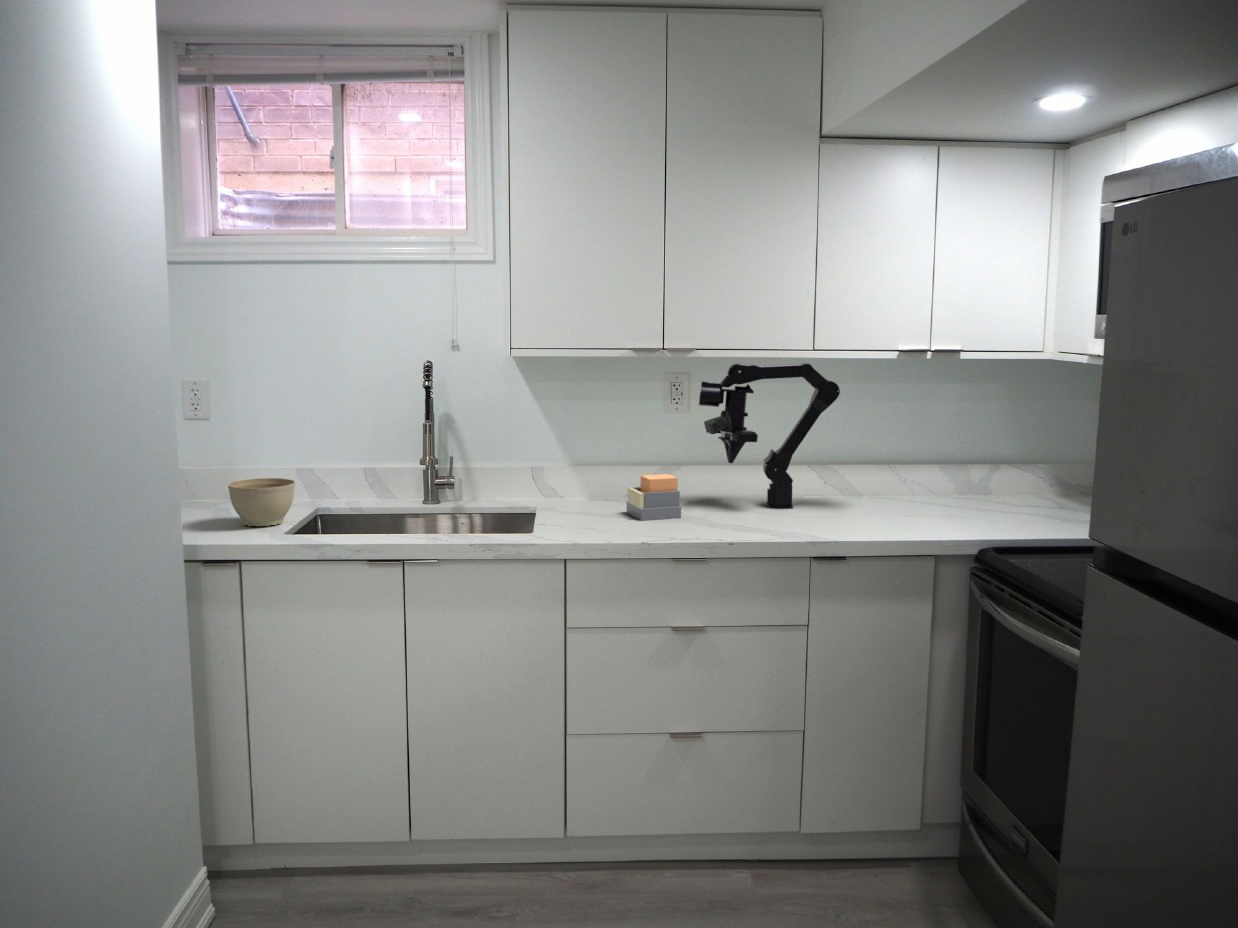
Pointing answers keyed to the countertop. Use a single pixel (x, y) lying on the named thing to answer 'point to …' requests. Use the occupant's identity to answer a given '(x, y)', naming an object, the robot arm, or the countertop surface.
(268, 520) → the planter bowl
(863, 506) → the countertop surface
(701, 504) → the countertop surface
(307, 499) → the countertop surface
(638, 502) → the open gray box
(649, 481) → the orange block
